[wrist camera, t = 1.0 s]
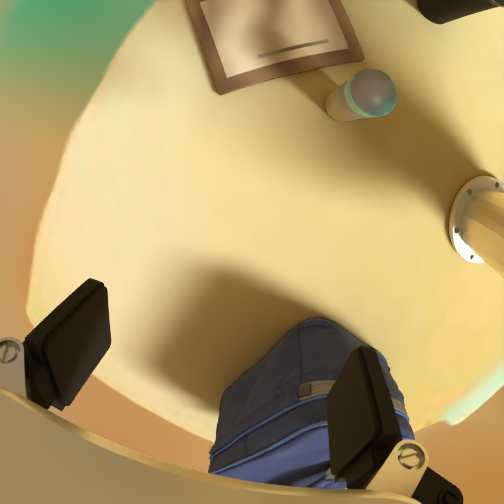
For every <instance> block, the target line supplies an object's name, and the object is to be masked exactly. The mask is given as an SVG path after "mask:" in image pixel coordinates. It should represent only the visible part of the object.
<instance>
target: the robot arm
mask: <svg viewBox="0 0 504 504" xmlns="http://www.w3.org/2000/svg"><path fill="white" fill-rule="evenodd" d="M449 234H450V239H451V242H452V245H453V247H454V249H455V251H456V252H457V253H458V254H459V255H460V256H461V257H462V258H463V259H465V260H466V261H468V262H472V263H480V262H485V263H487V264H488V265H489V266H490V267H492V268H493V269H494V270H495V271H496V272H498V273H499V274H500V275H501V276H502V277H503V278H504V184H502V183H501V182H500V181H499V180H497V179H495V178H493V177H490V176H478V177H475V178H473V179H471V180H470V181H468V182H467V183H466V184H465V185H464V186H463V187H462V189H461V190H460V191H459V193H458V195H457V196H456V198H455V200H454V203H453V205H452V209H451V213H450V219H449ZM110 345H111V333H110V322H109V309H108V292H107V288H106V287H104V283H102V282H100V281H97V280H94V279H91V278H89V279H88V280H86V281H85V282H84V283H83V284H82V285H81V286H80V287H78V288H77V289H76V290H75V291H74V292H73V293H72V294H71V295H69V296H68V297H67V298H66V299H65V300H64V301H63V302H62V303H61V304H60V305H59V306H57V307H56V308H55V309H54V310H53V311H52V312H51V313H50V314H49V315H48V316H47V317H46V318H45V319H44V320H43V321H42V322H41V323H40V324H39V325H37V326H36V327H35V328H34V329H33V330H32V332H31V333H29V334H28V335H27V336H26V337H25V341H24V342H23V343H21V341H19V340H18V339H15V338H13V337H6V338H1V339H0V504H463V495H462V493H461V491H460V490H459V489H458V488H457V487H456V486H455V485H453V484H452V483H450V482H449V481H447V480H446V479H445V478H443V477H441V476H440V475H439V474H437V473H436V472H434V471H433V470H432V469H430V468H429V467H428V466H427V465H428V462H429V459H428V458H429V457H428V454H427V451H426V449H425V448H424V447H423V446H422V445H421V444H420V443H419V442H416V441H414V440H409V439H408V440H403V438H402V434H401V431H400V427H399V423H398V420H397V416H396V412H395V409H394V405H393V402H392V398H391V395H390V392H389V388H388V386H387V384H386V381H385V378H384V375H383V372H382V368H381V365H380V362H379V359H378V356H377V353H376V350H375V349H374V348H372V347H365V346H359V347H358V348H357V349H353V350H352V352H351V354H350V356H349V358H348V359H347V361H346V363H345V365H344V367H343V368H342V370H341V372H340V374H339V376H338V377H337V379H336V381H335V382H334V384H333V386H332V388H331V389H330V391H329V393H328V394H327V397H326V413H327V425H328V438H329V453H330V471H331V474H332V475H335V482H340V483H343V482H346V485H347V488H348V489H325V488H307V487H294V486H283V485H274V484H266V483H259V482H252V481H246V480H240V479H235V478H229V477H224V476H219V475H215V474H210V473H206V472H202V471H198V470H194V469H190V468H186V467H183V466H179V465H176V464H172V463H169V462H166V461H163V460H160V459H157V458H154V457H150V456H148V455H145V454H142V453H139V452H137V451H134V450H131V449H129V448H126V447H123V446H121V445H118V444H116V443H114V442H111V441H109V440H107V439H104V438H102V437H100V436H98V435H95V434H93V433H91V432H89V431H87V430H85V429H83V428H81V427H79V426H77V425H75V424H73V423H71V422H69V421H67V420H65V419H63V418H61V417H59V416H57V415H55V414H54V413H52V412H50V411H48V409H49V407H50V406H53V407H55V408H57V409H59V410H60V411H62V410H63V409H64V407H65V406H69V405H70V404H71V403H72V401H73V400H74V398H75V397H76V395H77V394H78V392H79V391H80V389H81V388H82V386H83V385H84V383H85V382H86V381H87V379H88V378H89V376H90V375H91V373H92V372H93V370H94V369H95V368H96V366H97V365H98V363H99V362H100V360H101V359H102V358H103V356H104V355H105V353H106V352H107V351H108V349H109V348H110Z"/></svg>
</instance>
